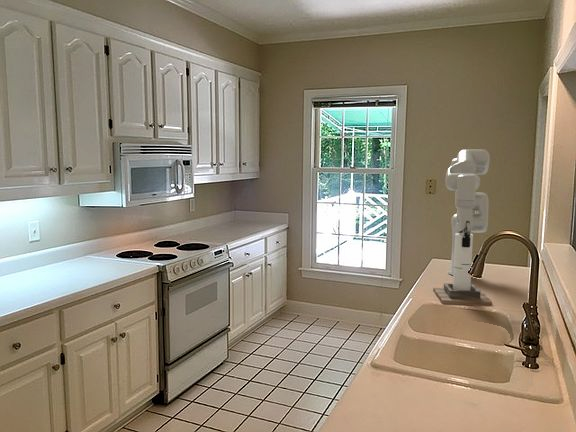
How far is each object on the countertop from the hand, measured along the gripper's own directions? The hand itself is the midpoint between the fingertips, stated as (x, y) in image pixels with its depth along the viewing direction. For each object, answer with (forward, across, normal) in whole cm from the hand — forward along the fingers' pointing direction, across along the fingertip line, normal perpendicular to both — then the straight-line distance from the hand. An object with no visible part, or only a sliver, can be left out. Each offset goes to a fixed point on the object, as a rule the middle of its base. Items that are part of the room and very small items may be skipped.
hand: (463, 245), depth 212 cm
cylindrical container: (+20, 0, 0) cm, 20 cm away
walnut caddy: (+23, 0, 0) cm, 23 cm away
